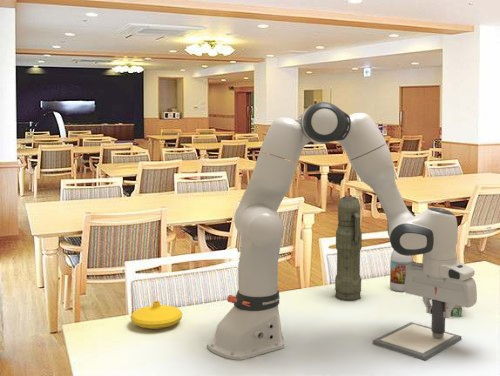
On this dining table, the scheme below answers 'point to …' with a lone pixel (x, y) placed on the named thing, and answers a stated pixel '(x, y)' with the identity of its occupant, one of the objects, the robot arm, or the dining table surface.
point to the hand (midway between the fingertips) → (438, 315)
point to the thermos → (348, 250)
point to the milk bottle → (398, 270)
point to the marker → (438, 318)
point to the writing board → (416, 341)
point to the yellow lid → (156, 316)
